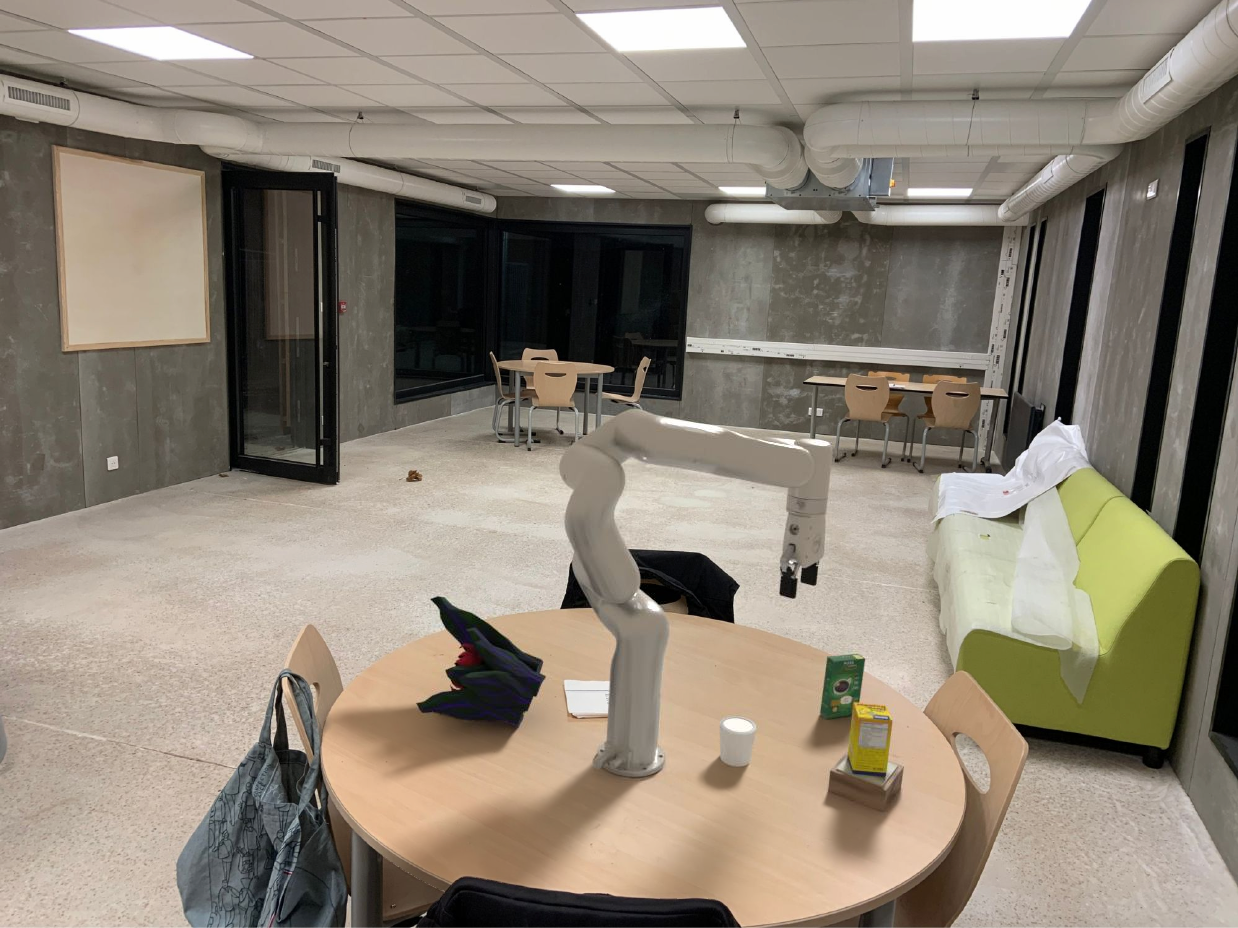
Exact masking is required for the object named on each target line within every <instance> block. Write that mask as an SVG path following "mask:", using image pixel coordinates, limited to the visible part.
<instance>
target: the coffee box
mask: <svg viewBox="0 0 1238 928" xmlns="http://www.w3.org/2000/svg"><path fill="white" fill-rule="evenodd" d="M865 663H866V658H865V657H863V655H861V654H859V653H852V654H840V655H831V656H829V655H828V656H826V666H825V674H824V678H823V679H824V680H823V686H822V687H823V689H822V694H821V704H820V712H819V713H820V715H821V716H822V717H823V718H824V719H827V720H828V719H836V718H844V717H852V711H853V703H854V702H856V703H861V702H860V700H861V693H862V688H863V687H862V685H863V680H864V679H863V678H864V672H865V671H864V670H865Z"/></svg>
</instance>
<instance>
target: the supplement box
mask: <svg viewBox="0 0 1238 928" xmlns="http://www.w3.org/2000/svg"><path fill="white" fill-rule="evenodd" d="M892 728H893V718H892V716H891V714H890V711H889V709H888V706H887V705H886V704H876V703H864V702H859V703H856V702H854V703H853V711H852V716H851V721H850V729H849V730H850V732H849V741H848V750H847V751H848V760H849V763H850V766H851V770H852V773H853V774H865V775H876V776H886V773H887V765H888V761H889V756H890V755H889V754H890V747H891V746H890V745H891V738H892V730H893V729H892Z"/></svg>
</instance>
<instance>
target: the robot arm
mask: <svg viewBox="0 0 1238 928" xmlns="http://www.w3.org/2000/svg"><path fill="white" fill-rule="evenodd" d="M631 458H633V459H635V460H637V461H639V462H642V463H645V464H649V465H654V466H660V467H666V468H674V469H681V470H688V471H693V472H700V473H706V474H710V475H714V476H717V477H718V476H719V477H724V478H729V479H734V480H735V479H736V480H741V481H746V482H751V483H756V484H761V485H765V486H771V487H780V488H785V489H787V494H786V505H785V506H786V507H785V512H787V517H786V523H785V528H784V534H783V540H782V541H783V542H782V550H781V557H780V559H779V565H780V566H779V571H780V573H779V574H780V575H779V576H780V580H779V581H780V582H779V590H778V591H779V592H778V594H779V596H780V597H781V596H782V597H784V598H789V599H792V600H794V599H796V598H797V591H798V581H799V580H800V583H801V584H805V585H809V586H814V587H815V586H816V585H817V583H818V571H819V564H820V561H821V559H823V557H824V556H825V545H826V543H825V541H826V515H827V510H828V509H827V508H828V498H829V489H830V481H831V471H832V461H833V446H832V444H831V443H830V442H828V441H825V440H822V439H816V438H800V439H797V440H795V439H785V438H777V437H769V436H768V437H763V438H760V439H757V438H753V437H750V436H748V435H744V434H741V433H738V432H736V431H733V430H730V429H728V428H724V427H721V426H718V425H714V424H707V423H701V422H694V421H688V420H682V419H679V418H673V417H669V416H663V415H658V414H653V413H651V412H648V411H646V410H645V409H644V410H643V409H640V408H630V409H627V410H625V411H623V412H620V413H618V414H616V415H615V416H613V417H611V418H610V419H608V420H607V421H606V422H604V423H602V424H601V425H600V426H597V428H594V430H592V431H590V432H589V433H587V434H586V435H584V436H582V437H581V438H580V439H578V440H577V441H575V442H574V443H573V444H571V445H569V447H568V448H567V449H565V450H564V453H563V454H562V455H561V458H560V459H559V463H558V469H559V474H560V477H561V479H562V481H563V482H564V484H565V485H566V486H567V487H569V488H570V489H571V490H572V493H571V495H570V497H569V499H568V502H567V506H566V509H565V513H564V523H563V524H564V529H565V533H566V536H567V538H568V541H569V543H570V545H571V548H572V550H573V554H572V562H571V563H572V564H571V565H572V571H573V574H574V576H575V578H576V580H577V582H578V584H579V586H580V588H581V590H582V592H583V594H584V596H585V597H586V598H587V601H588V602H589V604H590V607H591V608H592V610H593V612H594V613H595V615H596V617H597V618H598V620H599V621H600V622H601V623H602V625H603V627H605V628H606V629H607V630H608V631H609V632H610V633H611V635H612V636H613V637H614V638H615V641H616V642H615V643H616V644H615V648H614V653H613V654H612V659H611V662H610V669H609V687H608V689H609V691H608V692H609V693H608V704H607V705H608V706H607V707H608V708H607V710H608V711H607V723H606V741H604V742H603V743H601V745H600V746H598V749H597V756H596V757H595V758H593V760H592V764H593V767H594V768H595V769H597V770H598V769H599V770H600V769H601V768H604V769H605V770H606V771H608V772H610V773H613V774H615V775H618V776H621V777H627V778H629V777H631V778H638V777H639V778H641V777H646V776H650V775H653V774H655V773H657V772H659V771H660V770H661V769H662V768H663V767H664V765H665V763H666V753H665V751H664V749H663V748H661V746H660V745H659V744H658V743H659V729H660V728H659V727H660V714H661V713H660V712H661V697H662V683H663V670H664V669H663V668H664V662H665V661H664V660H665V655H666V652H667V651H666V650H667V647H668V643H669V638H670V634H671V633H670V631H671V630H670V629H671V628H670V622H669V618H668V616H667V614H666V612H665V610H663V608H662V607H661V606H660V605H659V604H658V603H657V602H656V601H655V600H653V599H652V598H651V597H650V596H649V595H647V593H645V592H644V591H643V590H641V589H640V587H641V574H640V570H639V567H638V564H637V562H636V561H635V559H634V558H633V556H632V553H631V552H630V550H629V548H628V545H627V544H626V542H625V540H624V538H623V537H622V534H621V532H620V531H619V528H618V526H617V523H616V521H615V511H616V507H617V505H618V502H619V500H620V498H621V496H622V495H623V493H624V490H625V487H626V473H625V470H624V467H623V465H622V464H624V463H625V462H627V461H628V460H629V459H631ZM792 567H793V569H792ZM800 568H801V572H800V579H799V578H798V577H797V575H798V573H799V570H800Z"/></svg>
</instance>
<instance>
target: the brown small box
mask: <svg viewBox="0 0 1238 928" xmlns="http://www.w3.org/2000/svg"><path fill="white" fill-rule="evenodd" d="M904 767H905V766H904V765H902V764H898V763H895V762H892V761H890V760H888V765H887V773H886V776H876V775H865V774H853V773H852V770H851V766H850V763H849V760H848V750H847V751H846V752H845V753H844V754H843V755H842V757H840V758H839V760H838V761H837V762H836V763H835V764H834V765H833V766H832V768H831V769H830V770H829V776H828V777H829V778H828V787H827V788H828V789H827V791H828V792H830V793H833V794H836V795H839V796H841V797H843V798H847V799H849V800H852V801H854V802H857V803H859V804H861V805H864V806H867V807H870V808H873V809H875V810H878V811H881V812H884V811H886V810H885V809H886V808H887V807H888V805H889V804H890V803H891V802H892V801H893V799H894V797H895V796H896V795H897V793H898V792H899V791H900V789H901V787H902V782H903V775H904Z"/></svg>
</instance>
